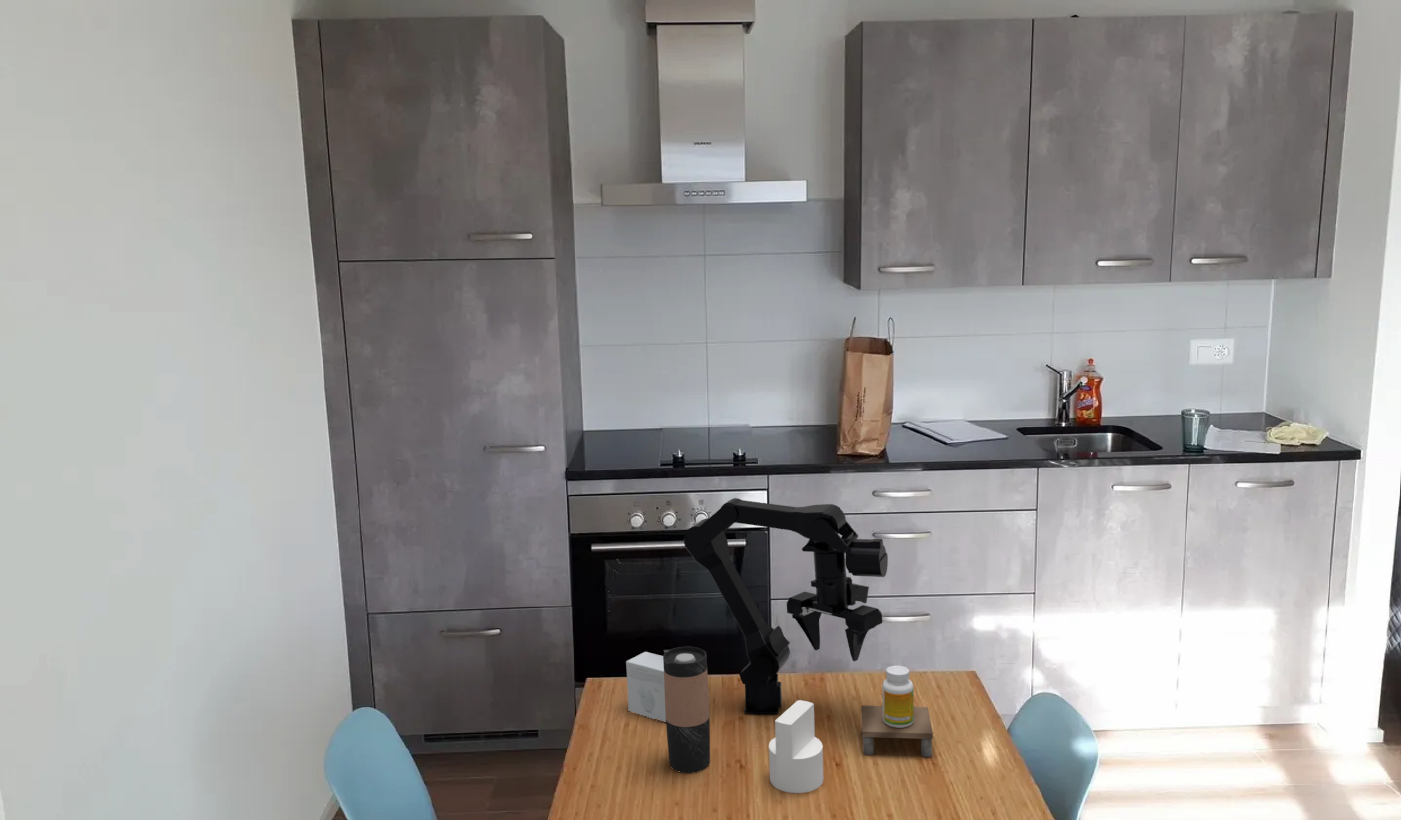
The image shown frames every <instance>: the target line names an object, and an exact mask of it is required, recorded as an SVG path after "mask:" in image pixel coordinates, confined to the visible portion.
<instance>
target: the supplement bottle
mask: <svg viewBox="0 0 1401 820" xmlns="http://www.w3.org/2000/svg"><path fill="white" fill-rule="evenodd" d="M885 671H886V672H885V673H886V674H885V676H886V678H885V679H884V681H883V682H882V685H881V686H882V691H881V692H882V706H883V721H884V723H885V724H887V725H889V726H891V727H895V728H904V727H908V726H910V725H912V724H913V721H914V707H915V706H914V704H915V703H914V684H913V682H912V680H910V669H909V668H908V667H906V666H903V665H892V666H888V667H887V668H886V669H885Z"/></svg>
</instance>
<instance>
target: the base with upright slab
mask: <svg viewBox="0 0 1401 820" xmlns="http://www.w3.org/2000/svg"><path fill="white" fill-rule="evenodd" d="M814 705H815V704H814V703H813V702H812V701H811V702H810V701H807V700H801V699H800V700H799V699H797V700H796V701H795V702H794V703H793V704H792V705H791V706H790V707H789V708H788V709H786V710H785V711H784V712H783V713H782V714H781V715H780V716H779V717H777V718H776V719H775V720H774V726H775V727H774V730H775V733H774V734H775V737H774V738H772V739H771V740H770V741H769V743H768V760H769V761H768V763H769V780H770V784H771V785H772V786H773V787H774V788H776V789H777V790H780V791H782V792H785V793H790V794H803V793H804V794H805V793H808V792H809V793H810V792H812V791H815V790H817V789H818V788H820V787H821V786H822V784H823V783H824V753H823V748H824V747H823V742H822V741H821V740H820V739H819V738H818V737H816V734H815V706H814Z"/></svg>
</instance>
